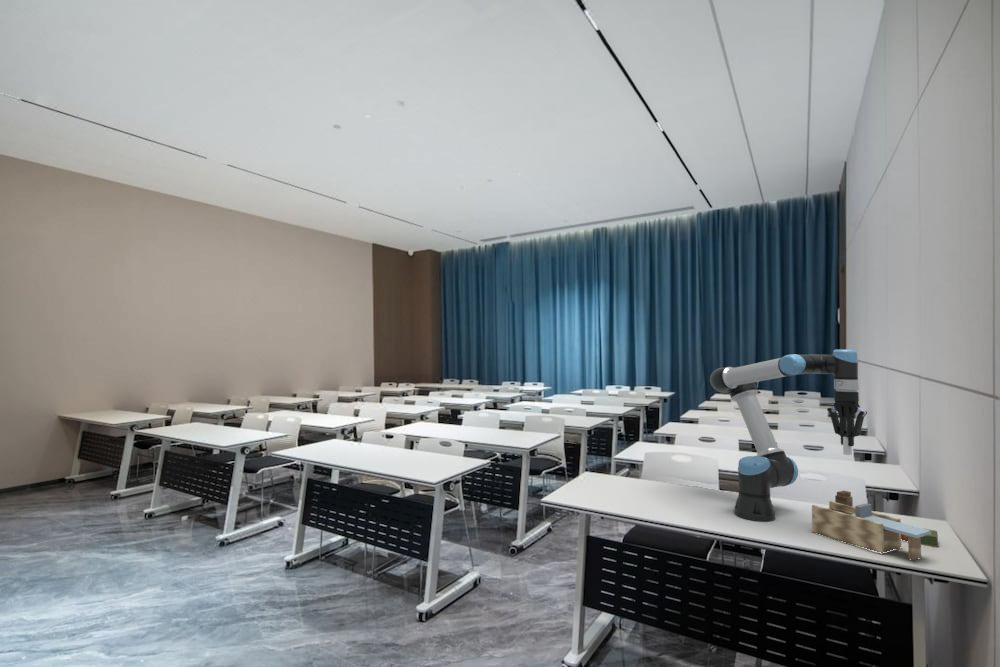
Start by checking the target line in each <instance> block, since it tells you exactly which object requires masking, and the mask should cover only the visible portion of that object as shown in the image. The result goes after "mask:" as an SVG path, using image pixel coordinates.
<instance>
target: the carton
mask: <svg viewBox="0 0 1000 667" xmlns="http://www.w3.org/2000/svg"><path fill="white" fill-rule="evenodd" d="M921 528H922V529H924V528H923V527H921ZM925 529H926V530H930V531H931V534H929V535H926V536H923V537H921V546H927V547H933V548H939V543H938V542H939V538H938V536H939V533H938V531H937V530H935V529H934V530H932V529H927V528H925ZM901 539H902V540H905V541H908V536H907V535H903V534H901ZM905 541H904V542H905Z"/></svg>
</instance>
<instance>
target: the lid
mask: <svg viewBox="0 0 1000 667" xmlns="http://www.w3.org/2000/svg"><path fill="white" fill-rule="evenodd" d="M854 507H855V514H851V515H853V516H856V517H860V518H864V519H867V520H871V521H875V522H878V523H882V524H883V529H885V530H889V531H892V532H896V533H900V534H903V535H907V536H910V537H914V538H919V537H923V536H926V535H929V534H931V531H930V530H931V529H929V530H926V529H927V528H923V527H919V526H914V525H912V524H911V525H910V524H907V523H903V522H901V523H900V522H896V521H892V520H888V519H884V518H881V517H877V516H873V515H872V512H873V511H872V504H871V503H867V502H866V503H863V504H862V503H861V504H857V505H855V506H854ZM922 528H923V529H922Z"/></svg>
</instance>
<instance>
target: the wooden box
mask: <svg viewBox="0 0 1000 667" xmlns="http://www.w3.org/2000/svg"><path fill="white" fill-rule="evenodd" d="M828 502H829V503H828V505H829V506H828V508H827V507H823V506H819V505H815V504H813V505H811V520H812V521H811V522H812V523H811V524H812V526H811V527H812V528H811V529H812V530H811V531H812V533H813V532H814V533H813V534H816V533H817V534H816V535H819V534H820V536H822V535H823V537H825V536H826V538H828V537H829V539H831V538H832V540H834V539H835V541H838V540H839V541H838V542H841V541H843V542H842V543H844V542H846V543H845V544H847V543H850V544H853V545H857V546H860V547H864V548H867V549H870V550H874V551H877V552H881V553H883V552H887V551H890V550H893V549H898V548H900V547H901V548H902V541H901V534H900V533H896V532H892V531H889V530H885V529H883V524H882V523H878V522H875V521H871V520H867V519H864V518H860V517H856V516H853V515H851V514H855V506H853V507H852V506H848V505H844V504H840V503H837V502H835V501H833V500H831V501H828ZM872 515H873V516H877V517H881V518H884V519H888V520H892V521H896V522H900V523H902V522H901V518H899V517H898V518H897V517H894V516H890V515H887V514H882V513H878V512H874V511H872ZM850 544H849V545H850ZM853 545H852V546H853ZM907 546H908V560H909V559H911V560H910V561H912V560H915V559H917V560H919V559H918V558H920V559H922V548H921V547H922V545H921V537H919V538H914V537H910V536H908V542H907ZM898 550H899V549H898ZM915 561H916V560H915Z"/></svg>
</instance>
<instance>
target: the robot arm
mask: <svg viewBox="0 0 1000 667" xmlns="http://www.w3.org/2000/svg"><path fill="white" fill-rule="evenodd" d="M858 358H859V357H858V352H857V351H856V350H855V349H834V350H833V351H832V354H819V353H818V354H817V353H814V354H813V353H810V354H794V353H792V354H786V355H784V356H782V357H778V358H775V359H770V360H766V361H765V360H764V361H759V362H757V363H756V362H755V363H751V364H747V365H741V366H735V367H732V366H726V367H718V368H716V369H715V370H713V371H712V373H711V374H710V378H709V382H710V384H711V387H712V388H713V389H714V390H715V391H716V392H719V393H723V394H729V396H730V399H731V400H732V401H734V402H736V404H737V406H738V408H739V411H740V413H741V416H742V419H743V421H744V423H745V426H746V428H747V430H748V433H749V435H750V436H749V437H750V438H751V441H752V442H753V443H752V444H753V446H754V447H755V450H756V452H757V454H756V455H752V456H751V455H749V456H744V457H741V458H740V459H739V460H738V466H737V472H738V474H737V475H738V477H737V478H738V479H737V480H738V496H737V499H736V502H735V505H734V510H733V512H734V515H736V516H737V517H739V518H741V519H745V520H749V521H756V522H771V521H775V520H776V510H775V509H774V506H773V503H772V500H771V489H772V488H778V487H779V488H780V487H786V486H789V485H790V486H791V485H792V484H794V483H795V482H796V480H797V478H798V476H799V468H798V465H797V463H796V461H795V460H794V459H791V458H790V457H789V456H787V455H786V452H785V450H784V449H781V448H780V447H779V446H778V443H777V441H776V439H775V436H774V434H773V431H772V430H771V427H770V426H769V422H768V420H767V418H766V416H765V413H764V411H763V409H762V406H761V404H760V401H759V399H758V397H757V395H758V393H759V391H758V387H759V382H763V381H769V380H775V379H779V378H785V377H792V376H797V375H816V374H817V375H818V374H819V375H821V374H822V375H833V390H834V391H833V400H834V403H833V406H831V407H828V408H827V409H826V411H827V412H828V414H829V415H830V419H831V423H832V427H833V431H834V433H835V434H836V435H838V436H840V444H841V446H842V451H843V452H842V454H843V455H845V456H851V455H852V454H853V447H854V446H855V437H859V436H860V435H861V432H862V427H863V423H864V419H865V416H866V415H867V414H868V412H867V410H863V409H862V408H861V406H860V405H859V401H860V400H859V399H860V398H859V392H858V390H859V389H860V388H859V368H858V367H859V359H858ZM856 414H857V416H856ZM855 418H856V419H855Z"/></svg>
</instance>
